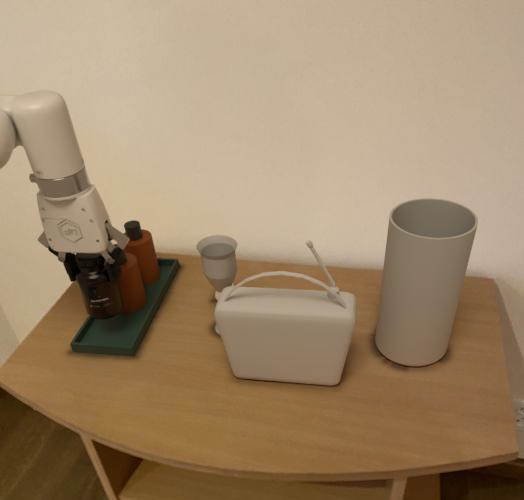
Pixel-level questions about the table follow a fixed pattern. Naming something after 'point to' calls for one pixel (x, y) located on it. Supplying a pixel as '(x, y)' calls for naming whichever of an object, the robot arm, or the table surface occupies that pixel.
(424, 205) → the cylinder vase
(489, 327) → the table surface
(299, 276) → the radio
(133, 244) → the amber bottle far
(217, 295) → the lidless jar
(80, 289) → the supplement bottle
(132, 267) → the amber bottle middle
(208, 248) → the chalice
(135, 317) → the tray
